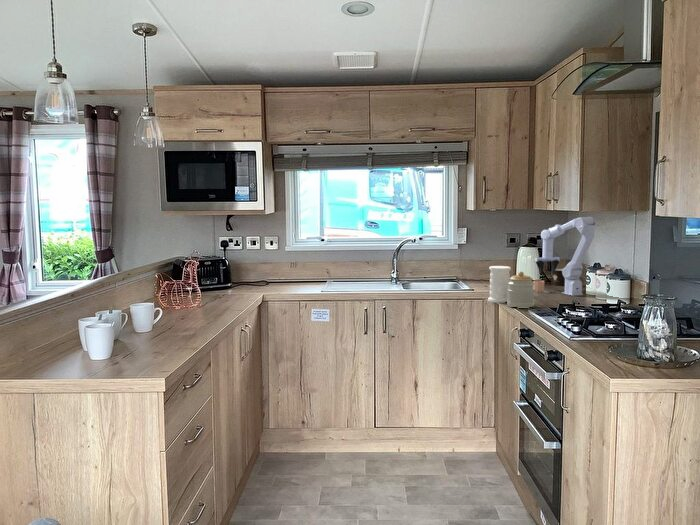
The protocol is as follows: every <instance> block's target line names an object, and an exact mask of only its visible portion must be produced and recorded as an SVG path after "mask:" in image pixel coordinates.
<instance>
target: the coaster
mask: <svg viewBox="0 0 700 525" xmlns="http://www.w3.org/2000/svg"><path fill="white" fill-rule="evenodd" d="M551 293H552V292H551V291H547V290H544V292H534V295H535V294H536V295H537V294H551Z"/></svg>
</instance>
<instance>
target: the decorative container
mask: <svg viewBox="0 0 700 525" xmlns="http://www.w3.org/2000/svg"><path fill="white" fill-rule="evenodd" d="M488 269H489V270H490V274H489V278H490V279H489V283H490V284H489V290H490V291H489V297H488V298H487V302H489V303H494V304H495V303H496V304H505V302H506V301H507V292H508V291H507V289H508V284H507V283H508V282H509V281H510V279H509V278H510V275H511V274H510V271H511V266H506V265H491V266H489V268H488Z"/></svg>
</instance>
